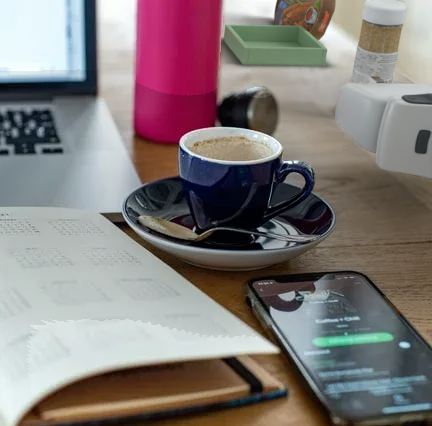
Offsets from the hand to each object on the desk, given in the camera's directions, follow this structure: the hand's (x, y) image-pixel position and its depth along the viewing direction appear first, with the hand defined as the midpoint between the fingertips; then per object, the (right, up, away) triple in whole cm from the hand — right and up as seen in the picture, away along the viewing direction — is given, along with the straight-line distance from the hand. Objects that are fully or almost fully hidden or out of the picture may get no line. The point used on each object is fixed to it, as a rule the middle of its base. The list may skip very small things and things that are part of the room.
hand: (413, 83), depth 89 cm
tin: (-3, +13, +43) cm, 45 cm away
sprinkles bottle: (-2, -2, +12) cm, 13 cm away
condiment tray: (-8, +9, +33) cm, 35 cm away
